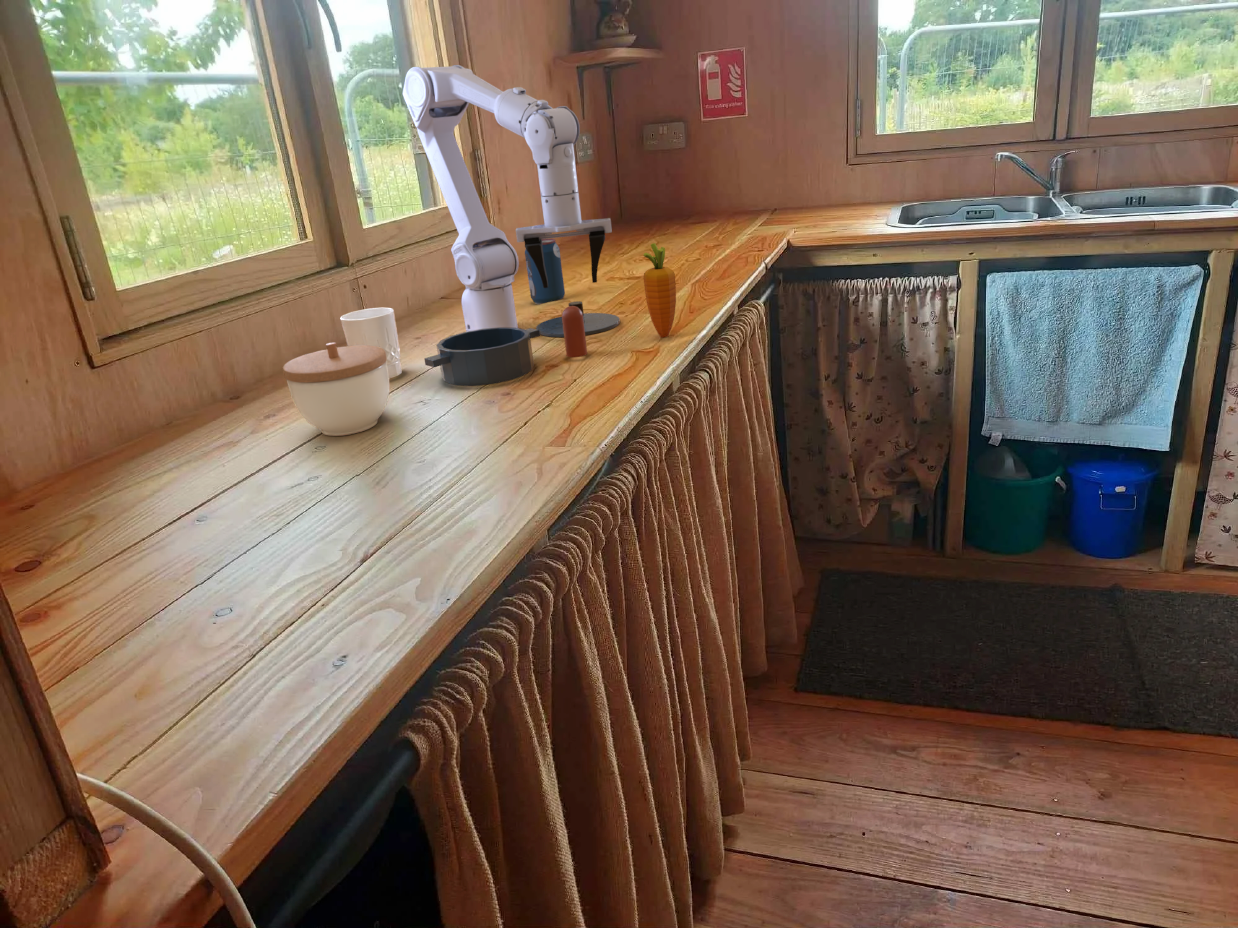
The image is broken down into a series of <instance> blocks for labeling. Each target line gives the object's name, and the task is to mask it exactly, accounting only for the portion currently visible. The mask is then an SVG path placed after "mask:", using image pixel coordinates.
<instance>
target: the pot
mask: <svg viewBox="0 0 1238 928" xmlns="http://www.w3.org/2000/svg"><path fill="white" fill-rule="evenodd" d="M540 336H541V335H540V331H539V330H537V329H536V328H531V327H529V328H526V329H525V328H519V327H518V328H513V327H498V328H486V329H479V330H473V331H467V332H466V331H464V332H459V333H456V334H453V335H450V336H448V337H445V338H443V339H441V340H440V341H439V342H438V343H437V344H436V351H437V354H435V355H431V356H428V357H424V365H425V366H427V367H432V368H437V367H440V372H441V373H440V374H441V378H442V379H443V382H444V383H447V384H450V385H454V386H461V387H475V386H476V387H478V386H479V387H480V386H487V385H488V386H489V385H494V384H499V383H505V382H508V381H512V380H516V379H518V378H521V377H523V376H525V375H527V374H529V373H530V372H531V371H532V370H533V368H534V366H535V362H534V361H535V360H534V354H533V348H532V347H533V346H532V341H531V340H532V339H535V338H538V337H540Z"/></svg>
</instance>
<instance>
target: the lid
mask: <svg viewBox="0 0 1238 928" xmlns="http://www.w3.org/2000/svg"><path fill="white" fill-rule="evenodd" d="M569 306H576V307H578V308H579V309H580V310H581V311H582V313H583V320H584V329H585V336H589V335H595V334H600V333H603V332H607V331H610V330H612V329H614V328H616V327H618V326H619V325H620V323H621V320H620V317H619V316H618V315H615V314H611V313H606V312H605V313H603V312H586V313H585V312H584V305H583V302H582V301H580V300H579V301H578V300H576V301H570V302H569V303H568V307H569ZM535 329H537V330H539V331H540V336H543V337H548V338H564V331H563V323H562V316H558V317H557V316H556V317H554V318H550V319H547V320H545V321H542V322H540V323H538V324H537V325H536V327H535Z"/></svg>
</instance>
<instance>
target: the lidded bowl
mask: <svg viewBox="0 0 1238 928" xmlns="http://www.w3.org/2000/svg"><path fill="white" fill-rule="evenodd" d="M337 346H338V345H337V342H335V341H334V342H327V343H326V344H325V347H326V349H321V350H317V351H313V352H310V353H306V354H303V355H299V356H298V357H295V358H293V359H291V360H289V361H287V362H286V363H285V364H284V365H283V367H282V372H283V376H284V379H285V380H286V383H287V388H288V392H289V394H290V397H291V400H292V402H293V404H294V406H295V408H296V411H297V412H298V413H299V415H300V416H301V417H302V418H303V420H305V422H307V423H308V424H310V425H311V426H312V427H314V428H315V429H317V430H319V431H320V433H321V434H323V435H324V436H329V437H340V436H341V437H342V436H350V435H354V434H358V433H361V432H365V431H368V430H369V429H371V428H373V427H374V426H376V425H377V424H378V422H379V418H380V417H381V415H382V414H383V412H384V411H385V409H386V407H387V405H388V402H389V397H390V378H389V374H388V368H387V363H386V360H387V358H386V352H385V350H384V349H382V348H380V347H377V346H368V345H357V346H347V345H346V346H338V347H337Z"/></svg>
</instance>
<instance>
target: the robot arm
mask: <svg viewBox="0 0 1238 928" xmlns="http://www.w3.org/2000/svg"><path fill="white" fill-rule="evenodd" d="M402 97H403V99H404V101H405V104H406V105H407V109H408V111H409V114H410V116H411V118H412V121H413V124H414V126H415V128H416V130H417V134H418V137H419V141H420V142H421V145H422V147H423V150H424V153H425V154H426V157H427V160H428V162H429V164H430V167H431V169H432V172H433V174H434V177H435V179H436V182H437V184H438V187H439V189H440V192H441V193H442V196H443V198H444V200H445V201H444V202H445V203H446V206H447V208H448V211H449V214H450V216H451V218H452V221H453V224H454V226H455V228H456V230H457V233H458V236H457V237H456V239H455V241H454V243H453V244H452V247H451V249H450V251H451V254H452V257H453V259H454V267H455V268H454V269H455V274H456V277H457V278H458V280H459V282H461V284H462V285H463V286H465V289H464V290H463V292H462V296H461V309H462V314H463V320H464V326H465V332H467V331H473V330H479V329H486V328H498V327H513V328H519V325H518V317H517V312H516V311H517V310H516V306H515V298H514V291H513V283H514V282H515V276H516V275H517V273H518V271H519V266H520V261H519V255H518V254H517V250H516V249H515V248H514V246H513V245H512V244H511V243H510V242H509V240H508V239H507V235H506V233H505V232H504V231H503V230H501V229H500V228H498V227H497V226H495V225H493V224H492V223H490V222H489V219H488V217H487V214H486V212H485V209H484V207H483V204H482V202H481V199H480V197H479V193H478V191H477V190H476V187H475V184H474V182H473V179H472V176H471V174H470V171H469V169H468V167H467V164H466V162H465V159H464V157H463V154H462V152H461V150H460V146H459V144H458V142H457V140H456V137H455V135H454V131H455V128H456V126H458V125H459V124H461V121H462V119H463V116H465V115H464V114H465V113H466V111H467V108H468V107H469V105H470V104H471V105H473V106H476V107H478V108H481V109H482V110H484V111H488V112H490V113H492V114H494V118H495V120H496V123H497V124H498V125H500V126H501V127H503V128H504V129H506V130H508V131H510V132H512V133H514V134H515V135H518V136H520V137H522V138H523V139H524V140H525V142H526V144H527V146H528V147H529V149H530V150H531V153H532V160H533V161H534V163H535V164H536V168H537V176H538V185H539V192H540V200H541V201H540V202H541V207H542V216H543V224H536V225H530V226H524V227H523V226H522V227H516V229H515V235H516V243H524V248H525V250H527V252H528V253H529V255H530V256H531V258H532V260H533V262H534V263H535V265H536V267H537V270H538V272H539V274H540V277H541V280H542V283H543V288H548V278H547V274H546V269H545V264H544V256H543V247H542V239H558V238H565V237H577V236H585V235H588V240H589V242H588V243H589V249H590V259H591V261H590V263H591V265H590V266H591V280H592V283H593V284H594V283H598V268H599V262H600V257H601V254H602V250H603V247H604V244H605V240H606V234H609V233H612V232H613V231H612V229H613V228H612V220H611V217H607V218H598V219H595V218H594V219H582V212H581V203H580V194H579V185H578V176H577V174H578V173H577V166H576V157H575V156H576V155H575V147H574V146H575V145H576V144H577V143H578V140H579V138H580V132H581V126H580V125H581V124H580V122H579V119H578V116H577V115H576V114H575V112H574V111H573V110H572V109H570V108H569V107H568V106H567V105H560V106H557V107H555V108H553V107H552V106H550V104H549V101H547V100H546V99H537V98H534V97H533V96H531V95H529V94H527V90H526V89H525V88H524V87H522V86H516V87H513V88H507V89H506V90H504V91H502V90H501V89H499V88H498V87H496V86H494V84H491V83H489V82H487V81H486V80H485V79H482V78H481V77H479V76H478V75H476V74H474V72H473V70H472V69H470V68H467V67H464V66H462V65H460V64H454V65H450V66H432V67H431V66H428V67H421V66H413V67H411V68H410V69H409V70H407V72H406V74H405V78H404V84H403V90H402Z"/></svg>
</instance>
